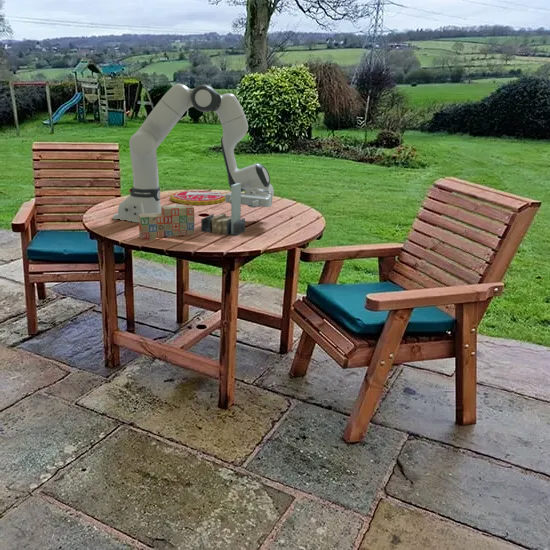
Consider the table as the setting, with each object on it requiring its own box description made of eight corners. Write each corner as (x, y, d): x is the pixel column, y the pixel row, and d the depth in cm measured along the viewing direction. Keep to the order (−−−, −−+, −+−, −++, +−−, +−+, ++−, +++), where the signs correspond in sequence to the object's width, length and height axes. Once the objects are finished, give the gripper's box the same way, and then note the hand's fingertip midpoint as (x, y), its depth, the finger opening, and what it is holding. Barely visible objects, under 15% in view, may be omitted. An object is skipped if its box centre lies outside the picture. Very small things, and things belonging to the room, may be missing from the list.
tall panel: (231, 233, 218) (231, 185, 211) (237, 230, 223) (237, 182, 216) (234, 234, 217) (234, 185, 211) (240, 230, 223) (240, 183, 216)
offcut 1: (211, 232, 219) (211, 217, 217) (221, 227, 227) (221, 213, 225) (216, 232, 219) (216, 218, 217) (225, 227, 226) (225, 213, 224)
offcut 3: (222, 233, 218) (222, 220, 216) (230, 228, 225) (230, 216, 223) (226, 233, 217) (226, 220, 216) (235, 229, 225) (235, 216, 223)
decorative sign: (221, 189, 301) (231, 200, 274) (221, 193, 302) (231, 205, 275) (167, 190, 294) (172, 201, 267) (168, 194, 294) (173, 206, 267)
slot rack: (199, 233, 220) (199, 219, 218) (212, 227, 230) (211, 213, 228) (236, 238, 215) (236, 224, 213) (247, 232, 225) (247, 218, 223)
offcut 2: (216, 232, 218) (216, 221, 216) (226, 227, 227) (226, 216, 225) (220, 233, 217) (220, 221, 216) (231, 228, 226) (231, 216, 224)
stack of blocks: (141, 240, 208) (139, 209, 204) (139, 236, 214) (137, 206, 210) (194, 236, 216) (194, 207, 212) (191, 232, 221) (190, 203, 217)
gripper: (232, 187, 236) (218, 192, 223) (275, 192, 229) (263, 198, 217) (232, 201, 238) (218, 207, 225) (274, 206, 231) (263, 213, 219)
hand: (241, 202), depth 221 cm, fingers open, 8 cm apart
